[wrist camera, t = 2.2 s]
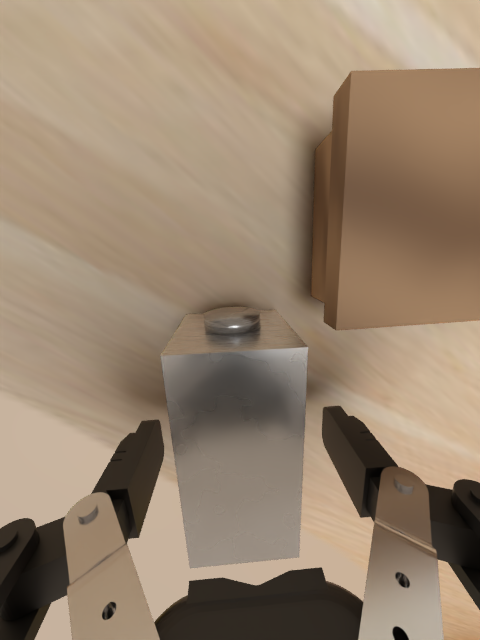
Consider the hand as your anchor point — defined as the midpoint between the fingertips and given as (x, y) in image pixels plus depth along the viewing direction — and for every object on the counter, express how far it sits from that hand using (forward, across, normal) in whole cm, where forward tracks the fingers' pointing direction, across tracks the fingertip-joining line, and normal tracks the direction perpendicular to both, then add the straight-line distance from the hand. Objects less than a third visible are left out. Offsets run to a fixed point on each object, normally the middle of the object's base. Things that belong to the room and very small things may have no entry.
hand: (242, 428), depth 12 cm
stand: (+3, -9, -9) cm, 13 cm away
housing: (+3, 0, 0) cm, 3 cm away
